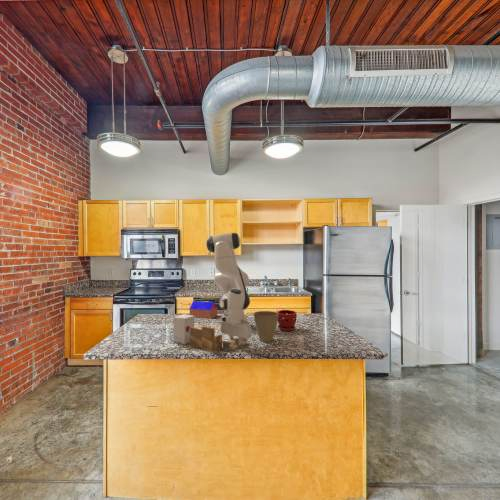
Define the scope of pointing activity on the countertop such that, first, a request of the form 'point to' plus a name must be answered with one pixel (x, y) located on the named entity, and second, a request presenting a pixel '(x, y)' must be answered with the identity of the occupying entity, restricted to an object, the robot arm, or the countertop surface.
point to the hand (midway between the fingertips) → (235, 343)
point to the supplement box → (182, 328)
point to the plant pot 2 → (286, 320)
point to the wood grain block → (205, 338)
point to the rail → (233, 344)
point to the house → (203, 309)
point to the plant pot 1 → (266, 324)
